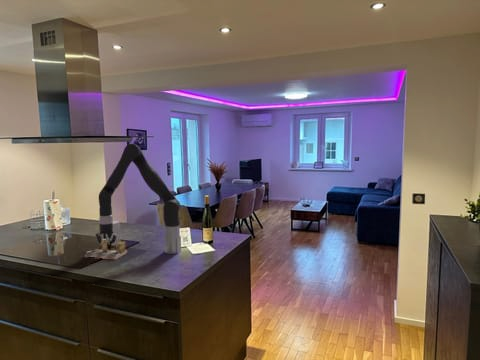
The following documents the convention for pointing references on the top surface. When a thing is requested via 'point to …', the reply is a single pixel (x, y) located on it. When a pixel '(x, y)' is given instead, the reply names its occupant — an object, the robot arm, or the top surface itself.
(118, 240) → the skincare box
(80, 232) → the top surface
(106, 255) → the gauge board
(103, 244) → the slider leg
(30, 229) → the top surface
